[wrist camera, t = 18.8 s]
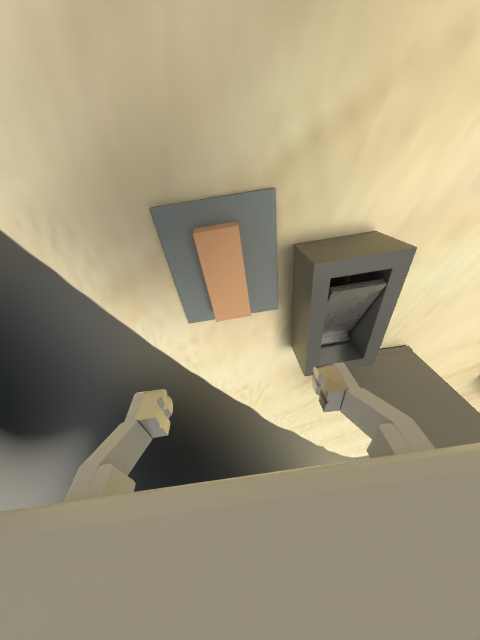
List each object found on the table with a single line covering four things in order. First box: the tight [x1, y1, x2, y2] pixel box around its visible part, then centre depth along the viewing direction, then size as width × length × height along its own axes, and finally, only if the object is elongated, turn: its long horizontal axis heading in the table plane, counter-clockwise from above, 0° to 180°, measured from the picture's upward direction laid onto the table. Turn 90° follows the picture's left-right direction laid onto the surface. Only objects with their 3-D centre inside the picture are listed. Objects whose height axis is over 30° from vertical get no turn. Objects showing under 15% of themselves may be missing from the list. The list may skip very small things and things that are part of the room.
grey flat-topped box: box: [348, 346, 480, 449], centre depth 33 cm, size 14×6×25 cm, turn 95°
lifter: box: [321, 279, 387, 345], centre depth 30 cm, size 13×6×2 cm, turn 7°
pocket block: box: [291, 231, 417, 376], centre depth 30 cm, size 19×11×7 cm, turn 7°
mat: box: [150, 188, 278, 323], centre depth 28 cm, size 14×16×1 cm
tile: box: [193, 221, 251, 322], centre depth 27 cm, size 12×5×2 cm, turn 8°
